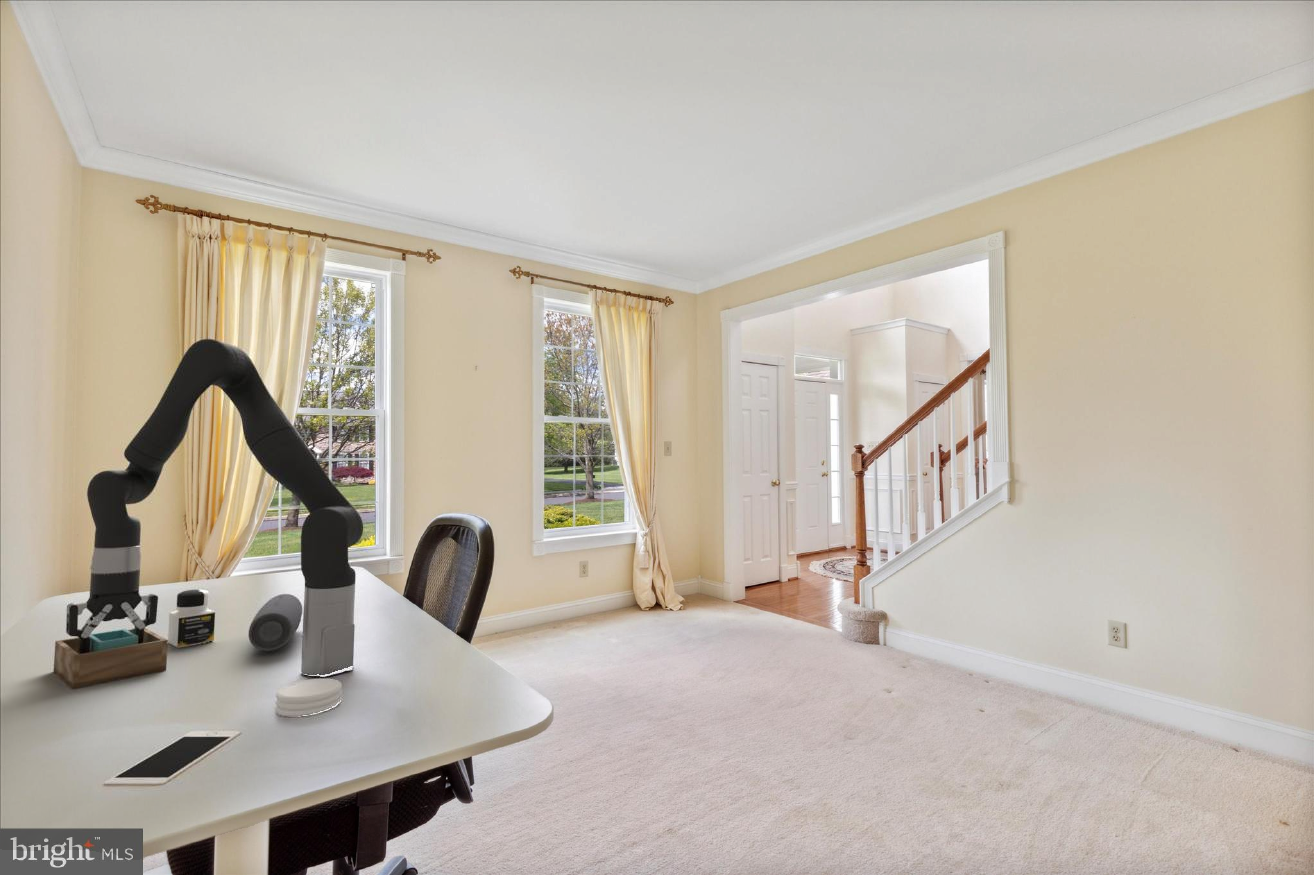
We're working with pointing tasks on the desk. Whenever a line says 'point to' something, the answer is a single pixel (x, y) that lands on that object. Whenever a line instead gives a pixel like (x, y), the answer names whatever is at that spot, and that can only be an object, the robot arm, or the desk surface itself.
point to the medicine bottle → (191, 619)
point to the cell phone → (173, 758)
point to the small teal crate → (112, 640)
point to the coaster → (308, 697)
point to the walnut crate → (109, 661)
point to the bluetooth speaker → (275, 622)
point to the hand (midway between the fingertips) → (111, 651)
